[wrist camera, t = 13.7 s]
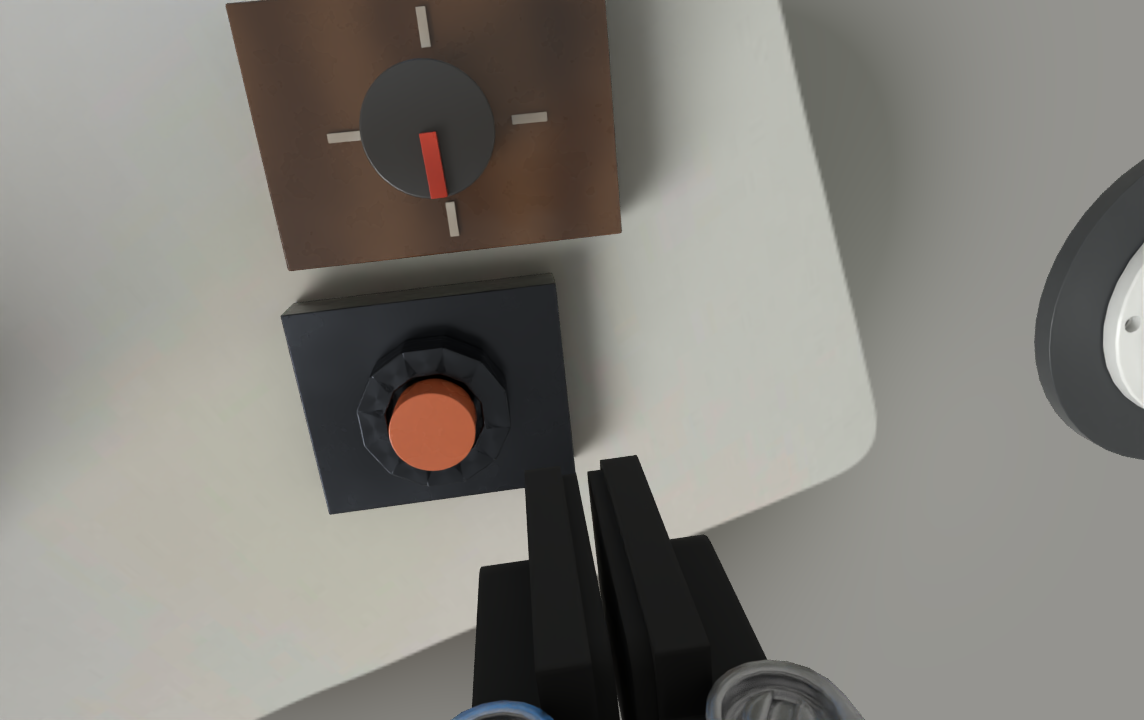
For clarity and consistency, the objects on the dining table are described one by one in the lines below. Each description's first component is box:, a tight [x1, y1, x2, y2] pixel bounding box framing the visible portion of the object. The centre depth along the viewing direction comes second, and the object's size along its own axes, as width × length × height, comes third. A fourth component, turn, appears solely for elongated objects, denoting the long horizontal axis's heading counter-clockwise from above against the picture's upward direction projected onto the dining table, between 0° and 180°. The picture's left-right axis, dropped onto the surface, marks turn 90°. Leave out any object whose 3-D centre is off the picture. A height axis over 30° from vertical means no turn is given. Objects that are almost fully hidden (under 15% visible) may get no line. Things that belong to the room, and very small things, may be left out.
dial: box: [359, 58, 495, 199], centre depth 25 cm, size 4×4×5 cm
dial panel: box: [226, 0, 622, 271], centre depth 29 cm, size 14×10×3 cm
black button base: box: [281, 273, 576, 514], centre depth 33 cm, size 12×10×4 cm
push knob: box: [389, 379, 477, 471], centre depth 30 cm, size 4×4×2 cm
